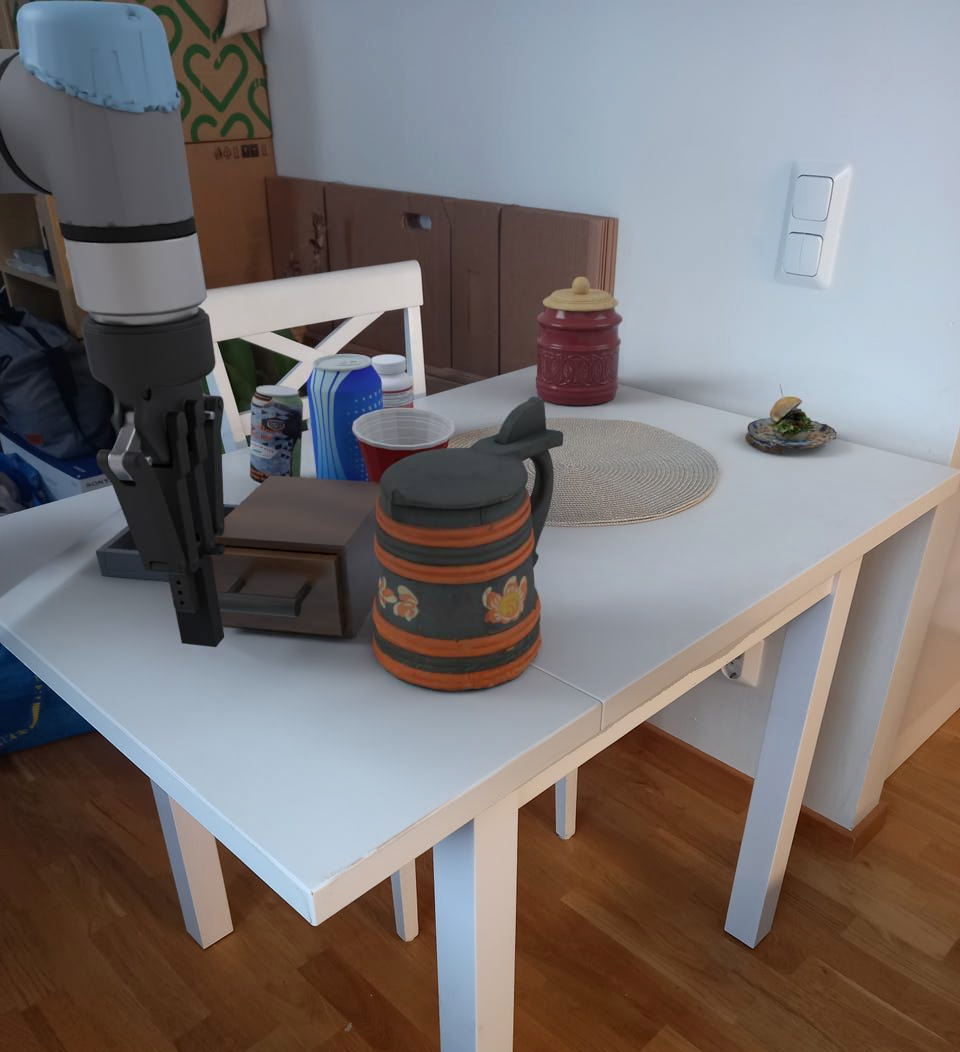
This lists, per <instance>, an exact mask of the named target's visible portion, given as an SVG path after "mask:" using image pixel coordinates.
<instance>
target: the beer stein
mask: <svg viewBox="0 0 960 1052" xmlns="http://www.w3.org/2000/svg"><path fill="white" fill-rule="evenodd" d="M545 406H546V405H545V400H543V399H542V398H540V397H539V396H531V397H529V398H528V399H527V401H524V402H522V403H520V404H518V405H517V406H516V407H515V408H514V409H512V410H511V411H510V412H509V413H508V415H507V417H506V418H505V420H504V421H503V423H502V425H501V427H500V429H499V431H498V433H496V434H493V435H490V436H487V437H483V438H480V439H478V440H477V441H475V442H474V443H473V444H471V446H469V447H447V448H445V449H435V450H429V451H424V452H420V453H417V454H414V455H411V456H408V457H406V458H404V459H402V460H400V461H398V462H396V463H395V464H393V465H391V466H390V467H389V468H388V469H387V470H386V471H385V472H384V473H383V475H382V477H381V480H380V482H381V492H380V495H379V496H378V498H377V500H376V521H375V525H376V528H375V537H374V540H375V544H374V550H375V553H376V555H377V558H378V575H377V594H376V595H375V598H374V602H373V607H372V624H373V625H372V627H373V628H372V629H373V632H372V633H373V635H372V650H373V653H374V656H375V658H376V660H377V661H378V662H379V664H380V665H381V666H382V667H383V668H384V670H385V671H386V672H387V673H389V674H390V675H392V676H393V677H394V678H396V679H397V680H399V681H401V682H404V683H406V684H410V685H413V686H418V687H422V688H426V689H429V690H436V691H445V692H460V691H461V692H462V691H468V690H477V689H478V690H479V689H488V688H492V687H495V686H500V685H504V684H505V683H507V682H511V681H513V680H515V679H516V678H518V677H520V676H521V674H523V672H524V671H525V670H526V669H527V668H529V666H530V664H532V663H533V662H534V660H535V659H536V658H537V656H538V654H539V652H540V649H541V647H542V643H543V641H542V636H541V635H542V634H541V624H540V623H541V609H542V603H541V599H540V596H539V592H538V590H537V588H536V585H535V582H536V581H535V572H534V568H535V566H536V565H537V562H538V560H539V558H540V557H539V554H538V553H537V547H538V543H539V541H540V539H541V535H542V532H543V530H544V527H545V524H546V521H547V518H548V514H549V512H550V508H551V504H552V499H553V493H554V482H555V478H554V477H555V474H554V464H553V460H552V456H551V453H550V450H551V449H554V448H558V447H559V448H560V447H562V446H563V444H564V432H562V431H561V430H555V429H548V428H547V418H546V417H547V416H546V409H545V408H546V407H545ZM528 459H529V460H530V461H532V463H533V466H534V470H535V471H534V472H535V474H534V484H533V488H532V490H531V494H530V492H529V490H528V488H527V487H526V486H527V484H528V483H529V482H528V481H529V474H528V470H527V468H526V466H525V464H524V461H526V460H528Z"/></svg>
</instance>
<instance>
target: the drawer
mask: <svg viewBox="0 0 960 1052" xmlns="http://www.w3.org/2000/svg"><path fill="white" fill-rule="evenodd" d="M211 559H212V564H213V570H214V576H215V582H216V588H217V594H218V600H219V607H220V613H221V619H222V625H230V626H241V627H251V628H262V629H273V630H284V631H295V632H305V633H316V634H327V635H338V636H342V635H343V633H344V632H345V630H346V625H345V615H344V605H343V595H342V585H341V575H340V565H339V556H337V554H334V553H321V552H308V551H295V550H282V549H269V548H256V547H243V546H230V545H229V547H225V552H224V554H223V555H222V556H216V555H211Z"/></svg>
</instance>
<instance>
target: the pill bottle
mask: <svg viewBox="0 0 960 1052" xmlns="http://www.w3.org/2000/svg"><path fill="white" fill-rule="evenodd" d="M371 359H372V366H373V367H374V369H375V370H376V372H377V373H378V375H379V376H380V378H381V381H382V395H383V409H390V408H415V407H414V387H413V386H414V385H413V379H412V377H411V375H410V374H409V373H407V372H405V371H406V370H407V358H406V357H405V356H404V355H403V356H402V355H400V354H392V353H391V354H390V353H388V354H379V355H375V356H373V357H371Z"/></svg>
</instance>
